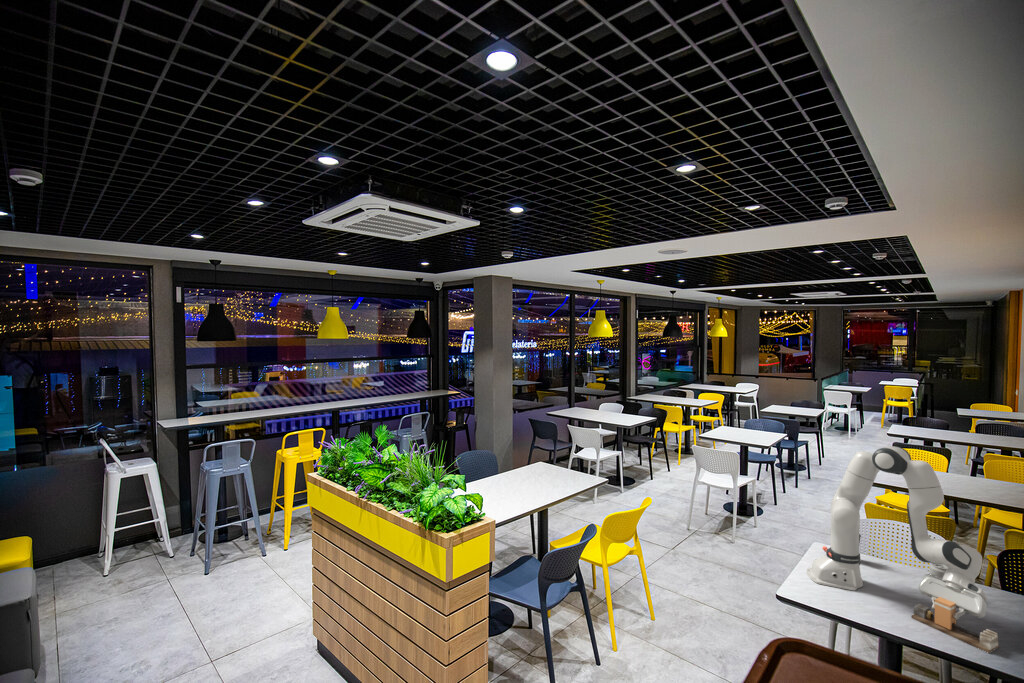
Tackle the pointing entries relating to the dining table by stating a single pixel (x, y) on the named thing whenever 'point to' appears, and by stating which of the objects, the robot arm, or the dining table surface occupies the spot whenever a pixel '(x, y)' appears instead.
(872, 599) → the dining table surface
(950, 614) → the orange box
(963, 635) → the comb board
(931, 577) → the robot arm
